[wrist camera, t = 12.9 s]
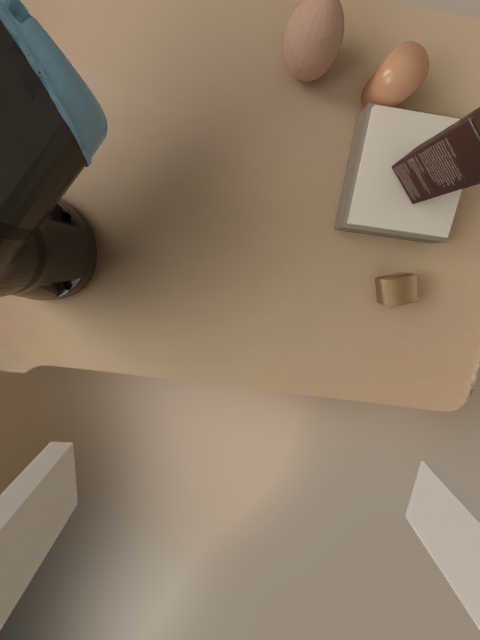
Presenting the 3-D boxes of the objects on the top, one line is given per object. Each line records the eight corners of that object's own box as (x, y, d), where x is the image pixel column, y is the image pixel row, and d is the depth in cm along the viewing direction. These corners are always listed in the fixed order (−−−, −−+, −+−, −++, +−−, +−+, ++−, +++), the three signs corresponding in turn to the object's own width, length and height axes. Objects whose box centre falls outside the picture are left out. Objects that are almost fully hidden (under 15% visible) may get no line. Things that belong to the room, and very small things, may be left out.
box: (441, 183, 36) (542, 148, 24) (411, 205, 36) (495, 181, 24) (419, 142, 34) (514, 84, 23) (388, 165, 35) (466, 120, 23)
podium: (334, 229, 40) (344, 226, 37) (357, 115, 37) (372, 99, 33) (429, 243, 41) (450, 241, 37) (461, 132, 38) (487, 118, 34)
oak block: (376, 302, 43) (390, 307, 40) (374, 277, 42) (388, 280, 39) (401, 297, 43) (418, 301, 39) (399, 272, 42) (416, 274, 38)
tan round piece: (357, 115, 37) (380, 89, 31) (366, 72, 36) (391, 37, 30) (392, 121, 37) (421, 96, 31) (402, 79, 36) (434, 45, 30)
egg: (318, 102, 37) (345, 53, 28) (271, 86, 36) (283, 31, 27) (335, 45, 35) (369, -26, 26) (287, 28, 35) (304, -50, 26)
